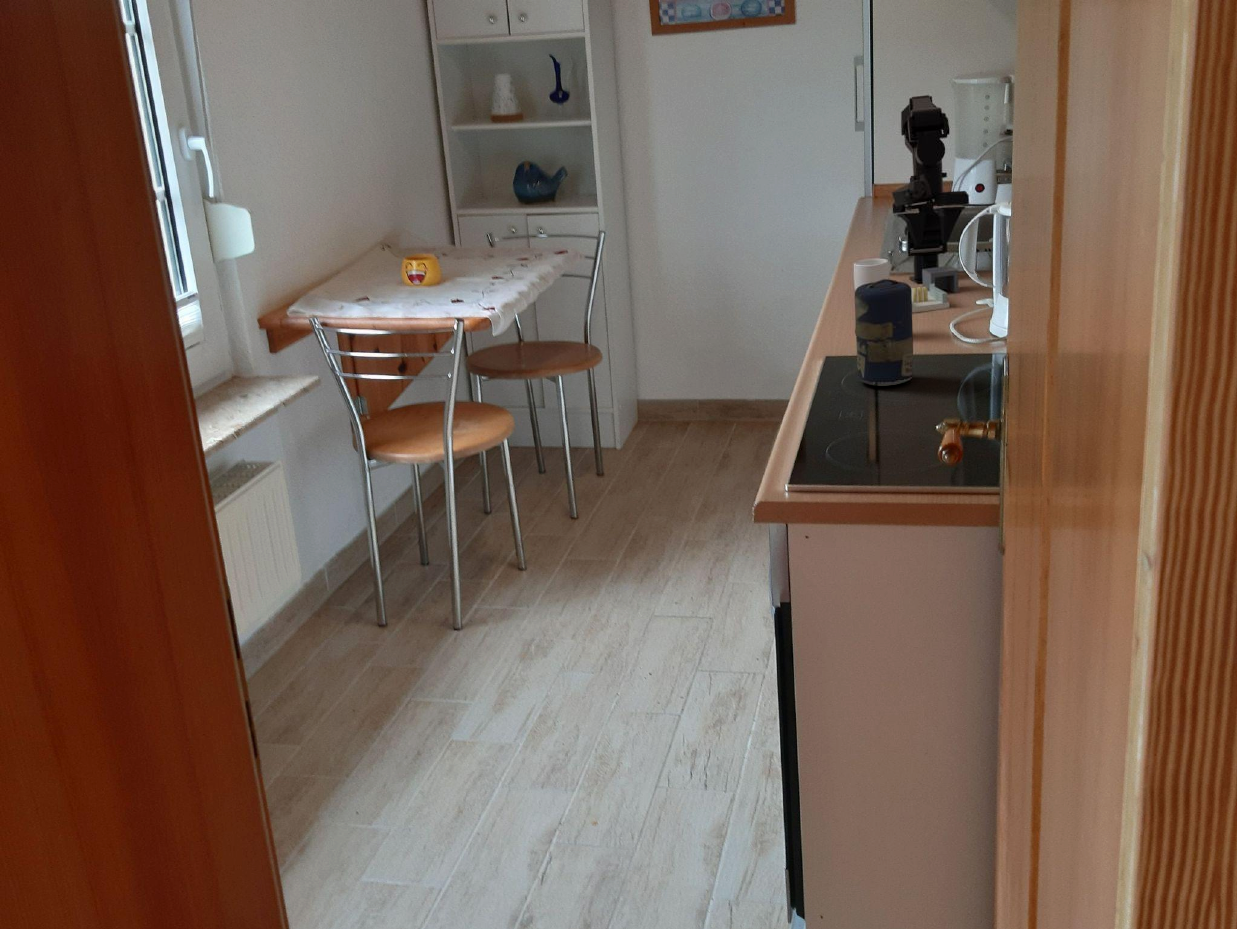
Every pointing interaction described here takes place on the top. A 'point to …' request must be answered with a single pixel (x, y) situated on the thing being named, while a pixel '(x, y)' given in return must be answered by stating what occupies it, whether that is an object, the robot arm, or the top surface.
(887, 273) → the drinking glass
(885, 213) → the top surface
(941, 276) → the grey block
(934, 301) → the board
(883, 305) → the canister
